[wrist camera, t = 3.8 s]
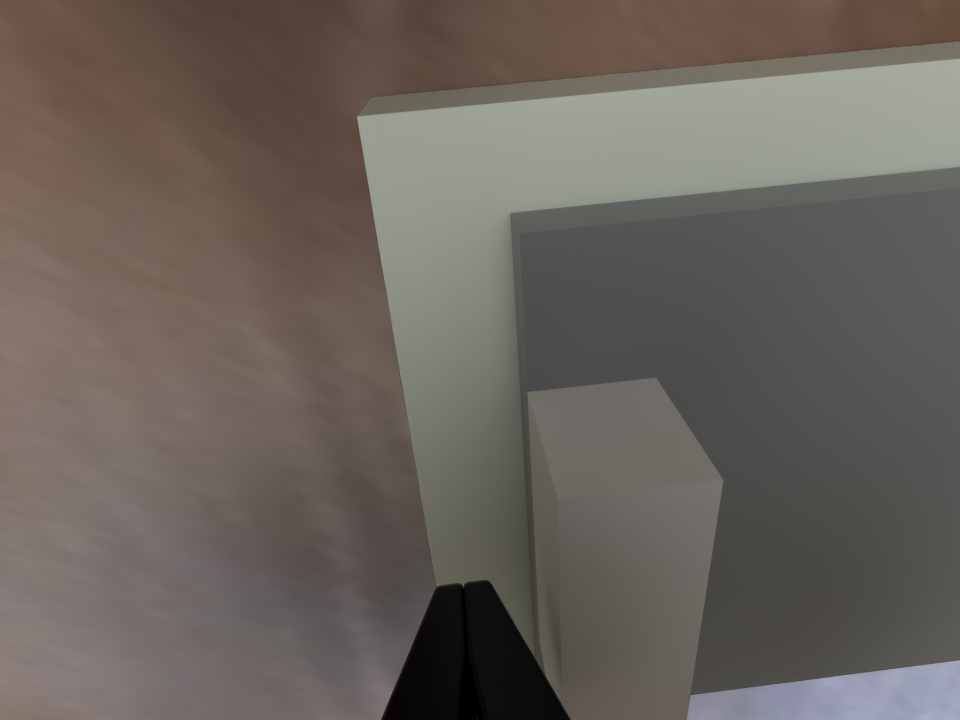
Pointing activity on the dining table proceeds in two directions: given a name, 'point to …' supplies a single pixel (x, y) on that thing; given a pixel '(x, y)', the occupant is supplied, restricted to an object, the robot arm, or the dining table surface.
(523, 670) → the robot arm
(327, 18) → the dining table surface
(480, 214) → the puzzle board
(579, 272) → the sliding cover
